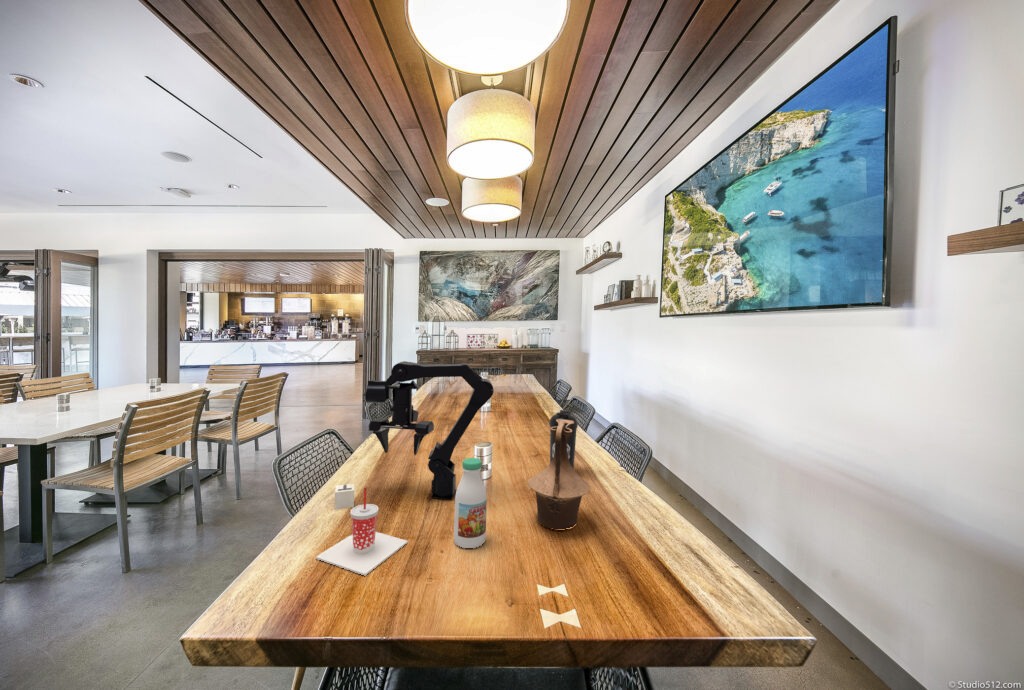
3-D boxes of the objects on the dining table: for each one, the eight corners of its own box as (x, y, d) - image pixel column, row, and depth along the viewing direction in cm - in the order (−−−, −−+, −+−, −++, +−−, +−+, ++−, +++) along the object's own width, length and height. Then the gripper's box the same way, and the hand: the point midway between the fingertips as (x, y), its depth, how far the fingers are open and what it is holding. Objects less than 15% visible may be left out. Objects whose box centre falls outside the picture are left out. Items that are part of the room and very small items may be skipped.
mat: (362, 530, 99) (362, 527, 99) (407, 543, 93) (407, 540, 93) (315, 559, 86) (315, 556, 86) (365, 576, 80) (365, 574, 80)
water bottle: (544, 477, 138) (547, 413, 138) (550, 467, 148) (552, 407, 147) (573, 481, 136) (576, 415, 135) (577, 471, 145) (579, 410, 144)
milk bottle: (447, 544, 94) (449, 461, 93) (465, 530, 100) (467, 453, 100) (474, 553, 90) (476, 468, 89) (491, 538, 97) (493, 458, 96)
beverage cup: (360, 539, 93) (361, 481, 93) (383, 543, 92) (384, 484, 91) (343, 553, 87) (344, 491, 87) (367, 557, 86) (368, 495, 85)
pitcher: (588, 543, 96) (593, 431, 95) (520, 533, 99) (524, 425, 98) (588, 511, 113) (592, 415, 112) (531, 504, 117) (534, 411, 116)
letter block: (354, 500, 116) (354, 483, 115) (353, 507, 111) (354, 489, 111) (335, 502, 114) (335, 485, 114) (334, 510, 109) (334, 492, 109)
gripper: (439, 400, 125) (438, 448, 126) (384, 397, 128) (384, 444, 128) (428, 406, 114) (426, 459, 115) (368, 403, 117) (367, 454, 117)
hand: (401, 453), depth 119 cm, fingers open, 9 cm apart
